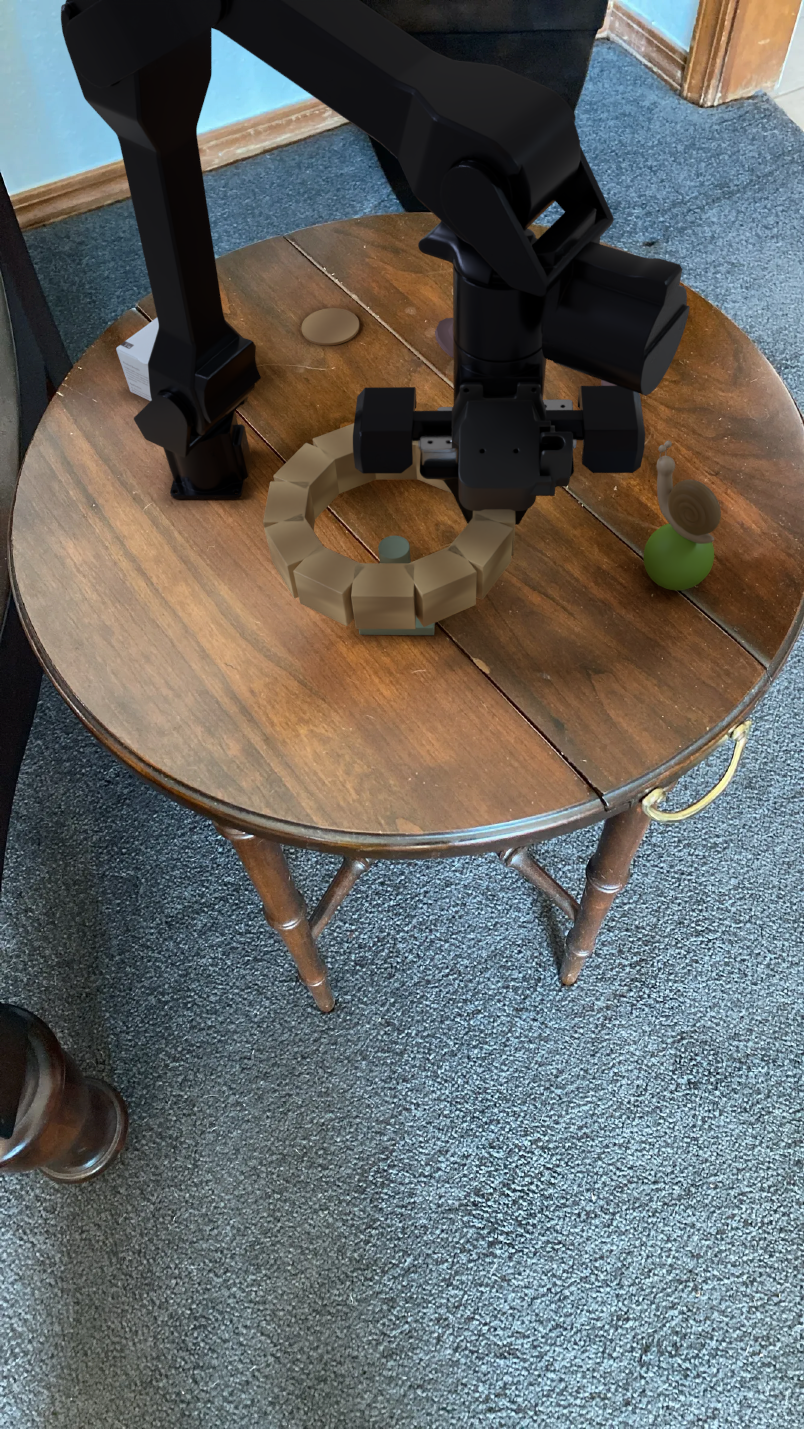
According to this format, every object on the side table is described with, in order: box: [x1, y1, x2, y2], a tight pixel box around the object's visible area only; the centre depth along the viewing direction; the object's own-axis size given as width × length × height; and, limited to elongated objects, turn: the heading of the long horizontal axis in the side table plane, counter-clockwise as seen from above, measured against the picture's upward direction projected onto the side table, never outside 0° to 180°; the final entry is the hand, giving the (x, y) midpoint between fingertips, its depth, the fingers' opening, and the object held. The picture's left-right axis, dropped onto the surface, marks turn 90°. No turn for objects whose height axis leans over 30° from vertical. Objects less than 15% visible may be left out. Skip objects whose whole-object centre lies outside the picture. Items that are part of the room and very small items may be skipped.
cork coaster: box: [301, 307, 360, 347], centre depth 101 cm, size 6×6×1 cm
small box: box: [115, 317, 159, 402], centre depth 94 cm, size 8×8×5 cm
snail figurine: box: [642, 440, 722, 591], centre depth 75 cm, size 5×6×12 cm
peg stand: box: [358, 535, 436, 636], centre depth 76 cm, size 6×6×7 cm
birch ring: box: [262, 422, 516, 630], centre depth 71 cm, size 18×18×4 cm
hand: (492, 520), depth 71 cm, fingers closed on birch ring, 3 cm apart
